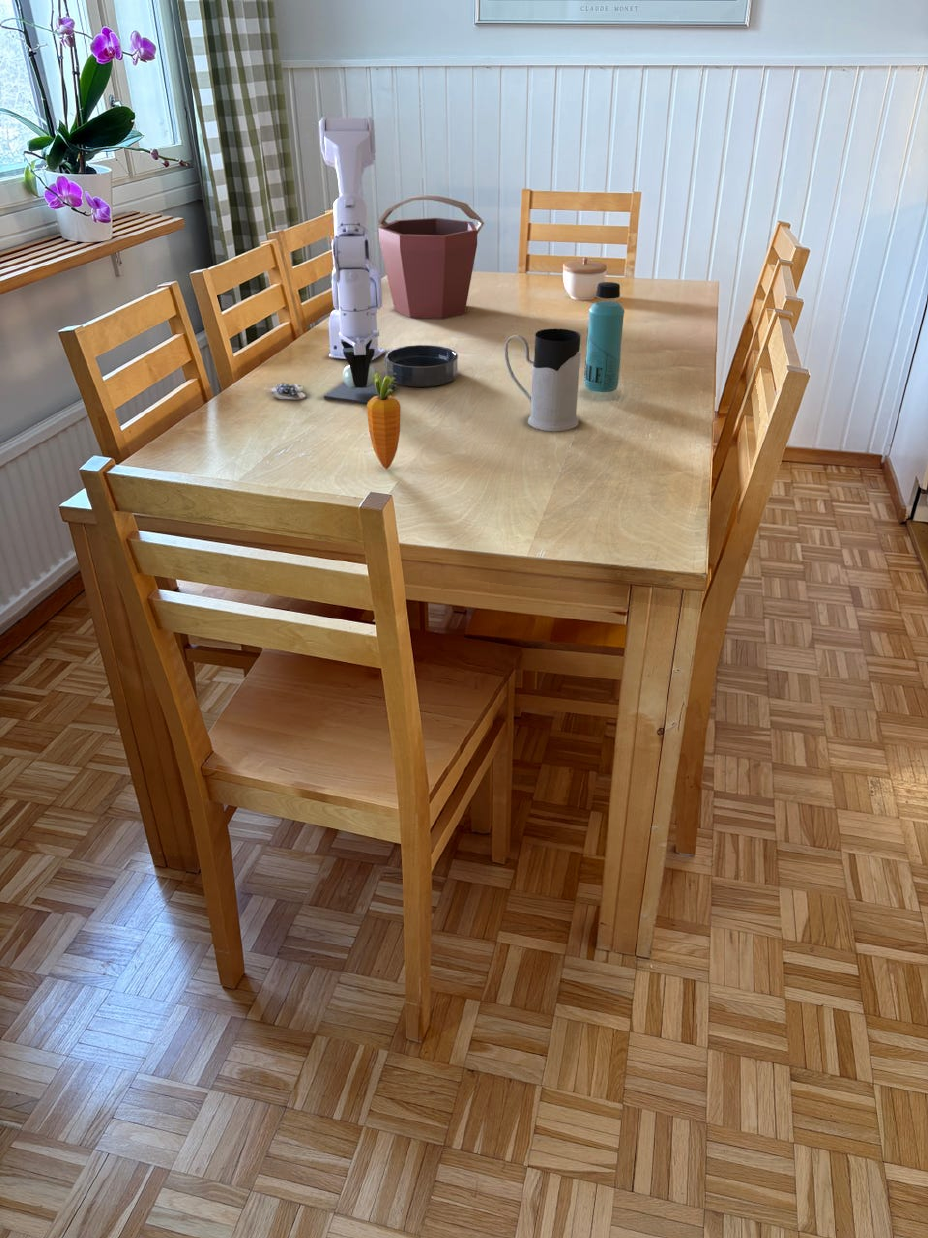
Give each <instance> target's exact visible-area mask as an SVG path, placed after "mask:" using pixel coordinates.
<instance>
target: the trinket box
mask: <svg viewBox="0 0 928 1238" xmlns="http://www.w3.org/2000/svg"><path fill="white" fill-rule="evenodd" d="M607 268H608V266H607V264H606V263H604V262H602V261H597V260H588V257H583V258H582V259H579V260H578V259H576V260H569V261H567V262H564V263H563V265H562V281H563V286H564V287H563V288H564V289H565V291H566V293H567V294H568V295H569V296H570V299H573V300H576V301H591V300H594V299H596V297H597V296H596V292H597V286H598V284H599V283H602V282H606V276H607Z"/></svg>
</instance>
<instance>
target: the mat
mask: <svg viewBox="0 0 928 1238" xmlns="http://www.w3.org/2000/svg"><path fill="white" fill-rule="evenodd" d="M381 386H382V383H381ZM388 389H392V390H393V391H394V390H395V389H397V386H396V385H395V384H390V386H389V388H388ZM375 396H378V393H377V390H376V387H375V382H374V384H373V385H372V386H370V387H368V388H350V387H348V386H347V385H346V384H345V382H344V381H343V382H342V383H340V384H338V385H337V386H336V387H334V388H333V389H331V391H329V392H327V393H326V394H324V395H323V399H326V400H332V401H339V402H340V401H342V402H349V403H355V404H364V405H367V404H368V402H369V401H370V400H371V399H372V398H373V397H375Z"/></svg>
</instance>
